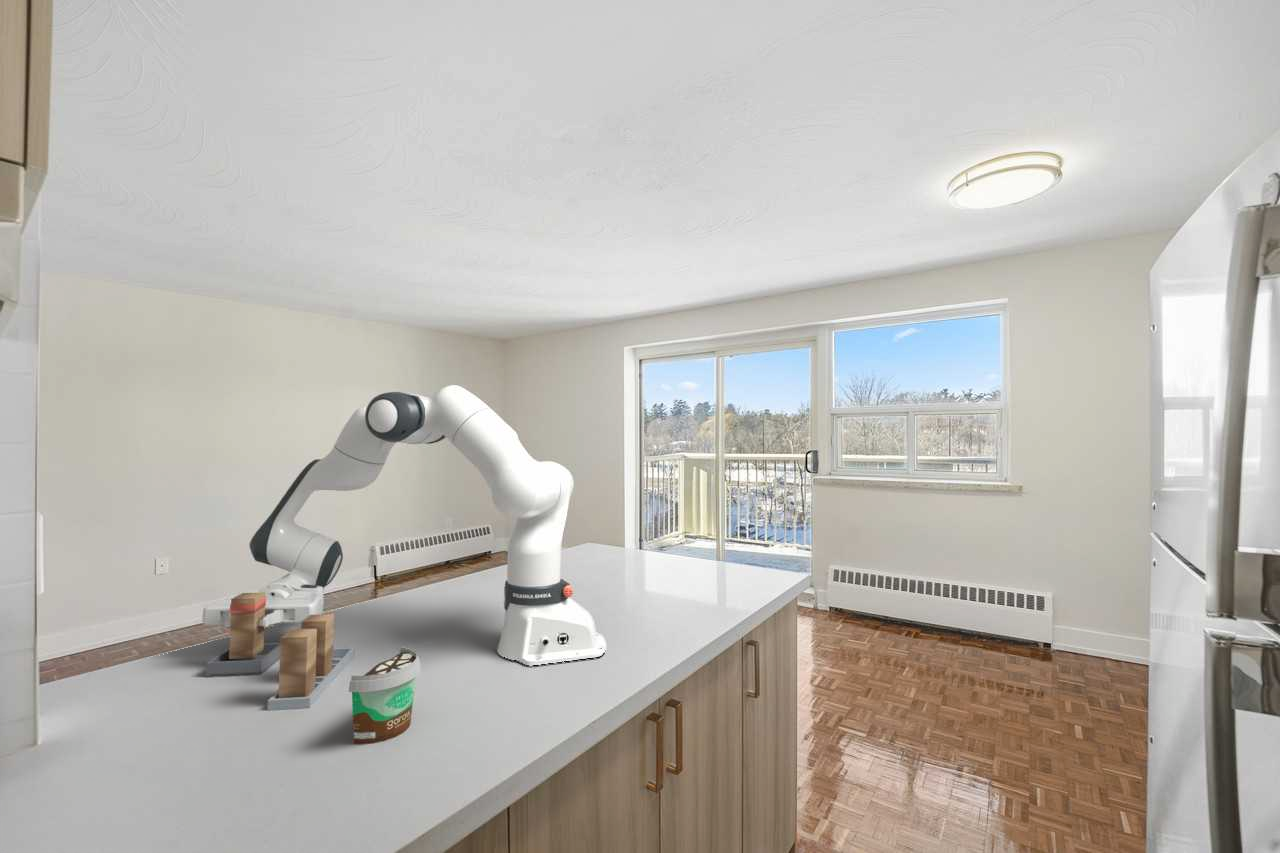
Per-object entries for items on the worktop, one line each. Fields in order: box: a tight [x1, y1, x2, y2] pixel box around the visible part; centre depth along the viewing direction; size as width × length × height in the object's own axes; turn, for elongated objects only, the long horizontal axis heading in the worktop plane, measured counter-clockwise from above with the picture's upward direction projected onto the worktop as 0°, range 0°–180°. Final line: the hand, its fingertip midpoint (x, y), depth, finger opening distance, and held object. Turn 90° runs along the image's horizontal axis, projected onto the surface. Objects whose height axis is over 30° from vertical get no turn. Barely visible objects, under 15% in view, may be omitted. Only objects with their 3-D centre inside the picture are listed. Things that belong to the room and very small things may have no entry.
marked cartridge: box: [228, 592, 266, 659], centre depth 106 cm, size 4×4×11 cm
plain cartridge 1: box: [278, 628, 317, 698], centre depth 93 cm, size 4×4×11 cm
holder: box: [266, 647, 356, 711], centre depth 101 cm, size 6×22×2 cm, turn 10°
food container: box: [348, 646, 422, 745], centre depth 84 cm, size 12×6×10 cm, turn 168°
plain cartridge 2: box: [300, 613, 335, 677], centre depth 101 cm, size 4×4×11 cm
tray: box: [205, 642, 280, 678], centre depth 106 cm, size 9×9×2 cm
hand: (245, 623), depth 105 cm, fingers closed on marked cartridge, 4 cm apart
